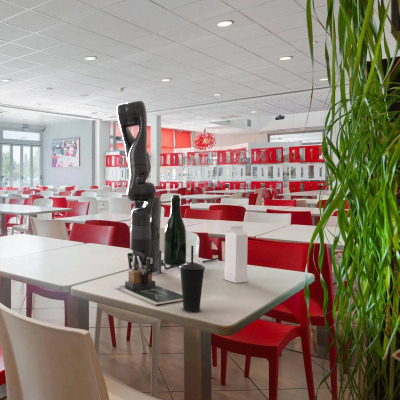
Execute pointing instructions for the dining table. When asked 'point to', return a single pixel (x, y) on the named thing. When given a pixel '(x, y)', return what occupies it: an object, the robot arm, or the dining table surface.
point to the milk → (236, 255)
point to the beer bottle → (175, 235)
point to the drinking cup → (191, 284)
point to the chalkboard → (157, 294)
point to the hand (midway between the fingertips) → (140, 283)
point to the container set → (196, 260)
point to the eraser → (138, 280)
